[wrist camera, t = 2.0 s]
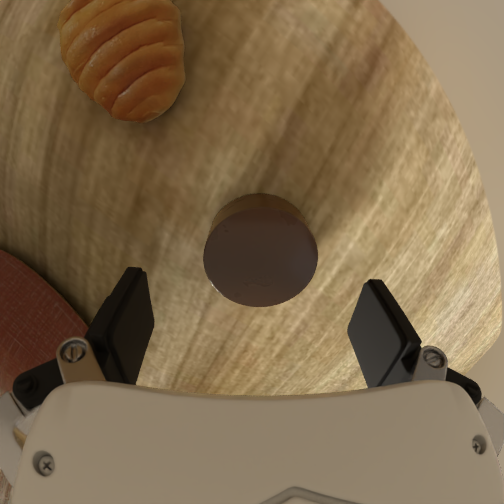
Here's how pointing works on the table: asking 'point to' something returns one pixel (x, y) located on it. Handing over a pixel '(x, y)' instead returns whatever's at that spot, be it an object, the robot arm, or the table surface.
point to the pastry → (125, 54)
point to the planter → (29, 327)
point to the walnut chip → (260, 251)
